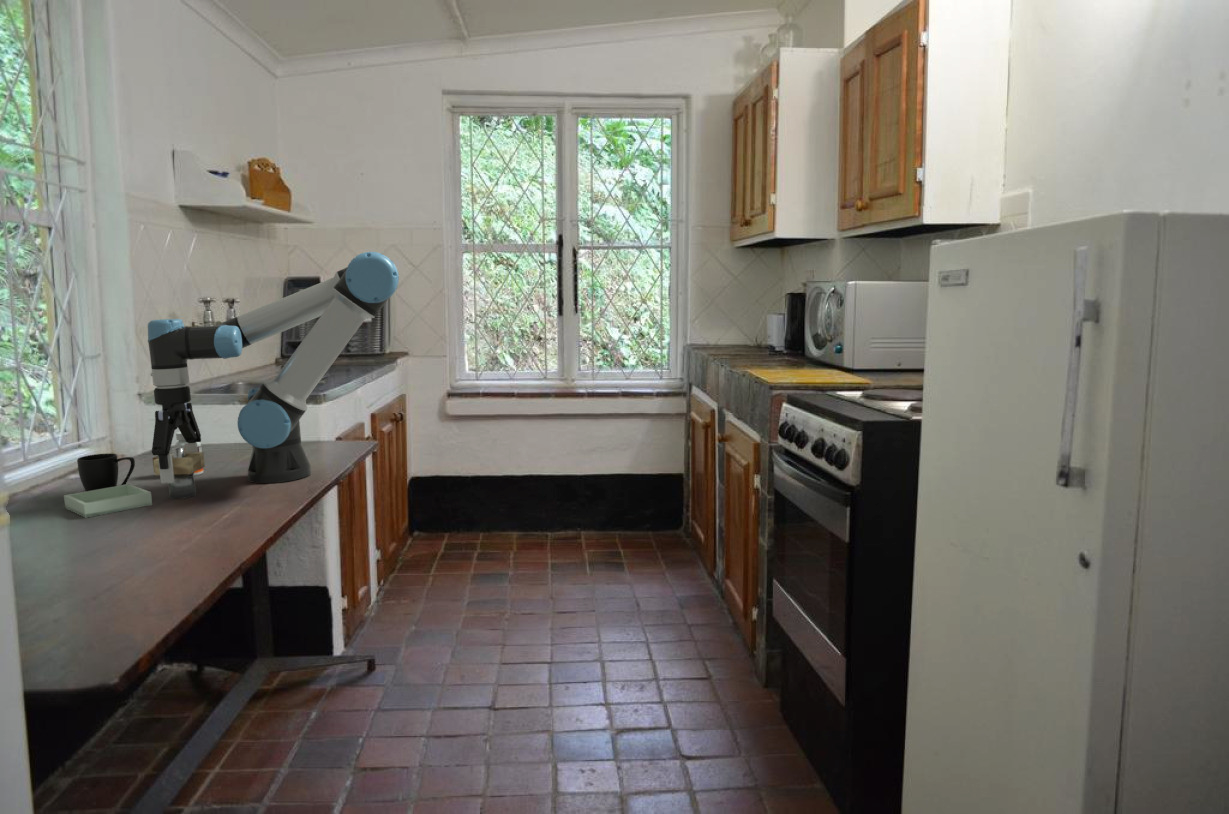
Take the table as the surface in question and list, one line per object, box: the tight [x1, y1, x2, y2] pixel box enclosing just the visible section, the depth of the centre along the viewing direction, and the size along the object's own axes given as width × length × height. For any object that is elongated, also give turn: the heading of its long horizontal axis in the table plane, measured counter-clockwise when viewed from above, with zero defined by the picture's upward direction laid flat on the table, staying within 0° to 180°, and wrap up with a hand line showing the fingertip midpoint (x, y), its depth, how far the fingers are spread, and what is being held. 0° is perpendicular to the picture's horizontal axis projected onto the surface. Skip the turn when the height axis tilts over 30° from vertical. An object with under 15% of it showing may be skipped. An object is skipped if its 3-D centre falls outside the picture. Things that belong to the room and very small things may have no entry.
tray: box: [63, 483, 153, 519], centre depth 199 cm, size 14×14×3 cm
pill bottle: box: [174, 431, 204, 477], centre depth 231 cm, size 6×6×11 cm
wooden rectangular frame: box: [152, 451, 206, 476], centre depth 207 cm, size 10×8×4 cm
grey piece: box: [167, 447, 197, 500], centre depth 207 cm, size 6×6×12 cm
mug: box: [76, 453, 136, 492], centre depth 210 cm, size 8×12×10 cm
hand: (180, 476), depth 207 cm, fingers open, 13 cm apart
